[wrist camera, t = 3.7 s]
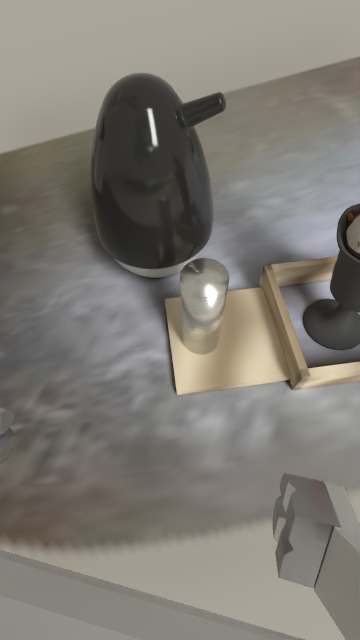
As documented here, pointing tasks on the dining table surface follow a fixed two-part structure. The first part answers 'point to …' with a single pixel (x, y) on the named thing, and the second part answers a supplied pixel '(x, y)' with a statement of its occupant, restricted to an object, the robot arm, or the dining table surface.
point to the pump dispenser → (151, 176)
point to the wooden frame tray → (243, 330)
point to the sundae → (340, 291)
